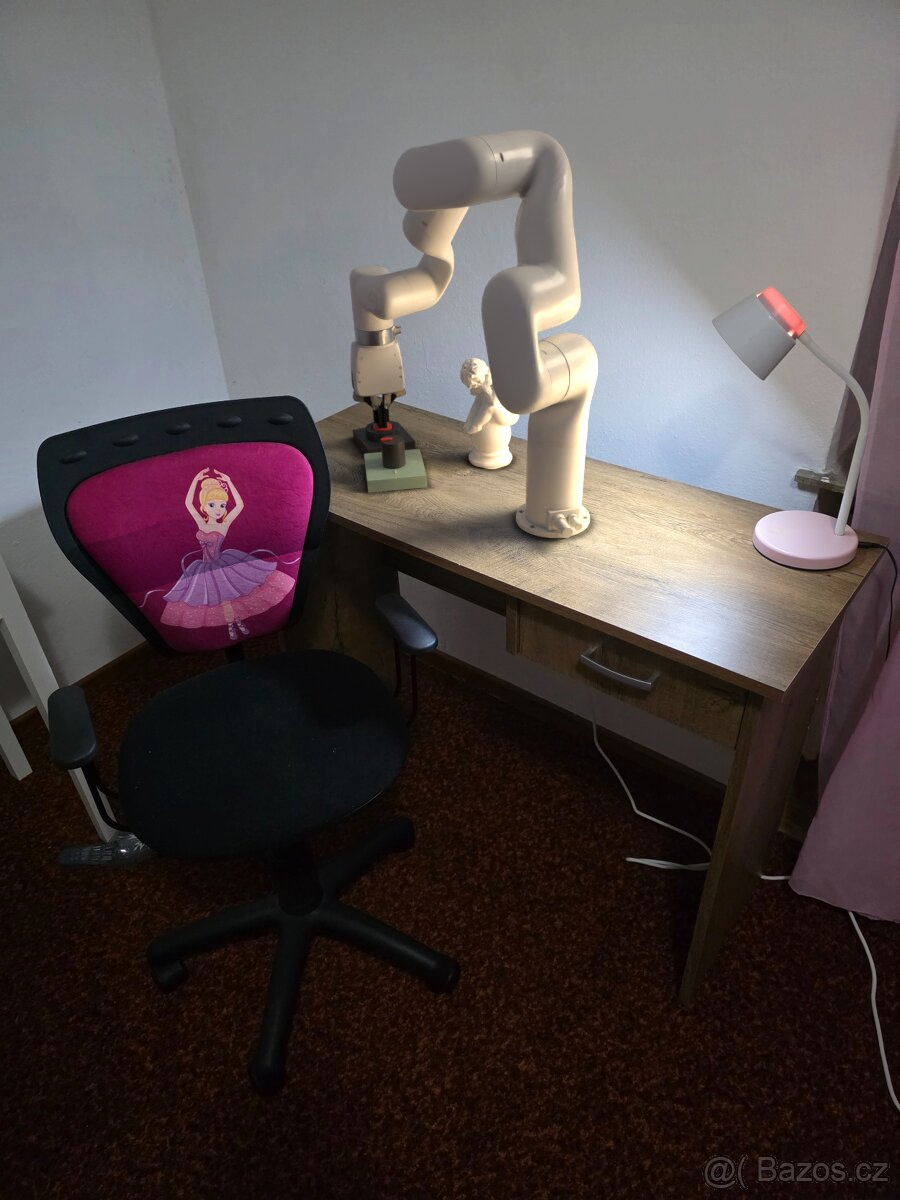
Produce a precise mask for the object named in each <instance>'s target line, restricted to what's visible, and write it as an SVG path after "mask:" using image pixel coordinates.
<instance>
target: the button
mask: <svg viewBox="0 0 900 1200" xmlns="http://www.w3.org/2000/svg"><path fill="white" fill-rule="evenodd" d="M390 429H392V424H391V423H388V422H387V428H384V427H382V428H380V429H379V427H378V425H377V423H376V424H374V425H373V430H375V431H388V430H390Z"/></svg>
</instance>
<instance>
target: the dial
mask: <svg viewBox="0 0 900 1200" xmlns="http://www.w3.org/2000/svg"><path fill="white" fill-rule="evenodd" d="M381 450H382V462H383V466H384V467H385V468H388V469H398V468H401V467H403V466H405V464H406V460H405V445H404V438H403V437H402V436H399V435H388V436H385V437H383V438H381Z"/></svg>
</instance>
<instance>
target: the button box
mask: <svg viewBox="0 0 900 1200" xmlns="http://www.w3.org/2000/svg"><path fill="white" fill-rule="evenodd" d="M388 423H391V424H392V429H390V430H388V431H375V430H373V425H374V424H376V423H374V421H371V422H369V423H368V424H366V426H365V427H361V428H360V427H359V428H354V429H352V437H353V441H354V442H355V443H356V445H357V446H358V447H359V448H360V450H361V451H362V452H363V455H364V454H367V453H378V452H382V450H381V438H383V437H385V436H388V435H399V436H402V437H403V438H404V445H405V450H413V449H416V440H415V439H414V438H413V436H411V435H410V434H409V433H408V432H407V430H406V428H404V427H403V426H402V425H401V424H400V423H399V421H394V420H391V419H389V422H388Z"/></svg>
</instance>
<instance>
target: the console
mask: <svg viewBox="0 0 900 1200" xmlns="http://www.w3.org/2000/svg"><path fill="white" fill-rule="evenodd" d="M363 456H364V457H363V458H364V468H365V476H366V485H367V493H379V492H381V493H382V492H392V491H403V490H414V489H426V488H428V481H427V479H428V478H427V472H426V469H425V465H424V461H423V457H422V454H421V450H420V448H415V449H413V450H405V460H406V464H405V466H403V467H401V468H398V469H388V468H385V467H384V466H383V462H382V452H378V453H367V454H364V453H363Z"/></svg>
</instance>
